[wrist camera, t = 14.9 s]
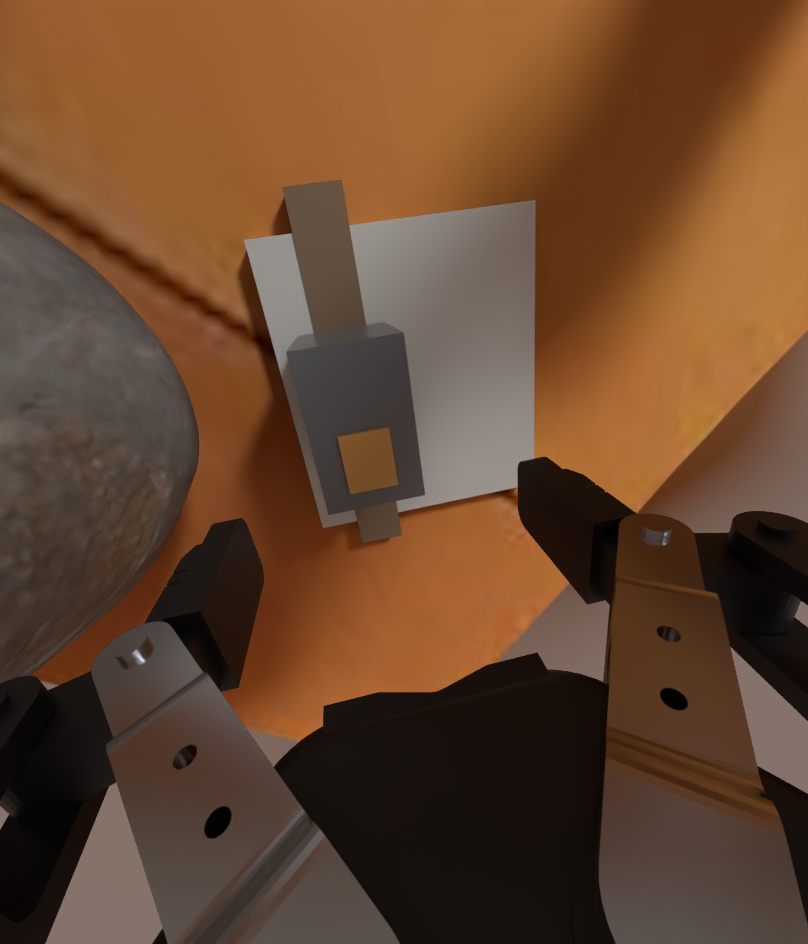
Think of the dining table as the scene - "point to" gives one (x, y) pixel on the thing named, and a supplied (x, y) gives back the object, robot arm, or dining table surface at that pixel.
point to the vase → (78, 446)
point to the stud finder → (358, 415)
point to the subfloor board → (417, 330)
